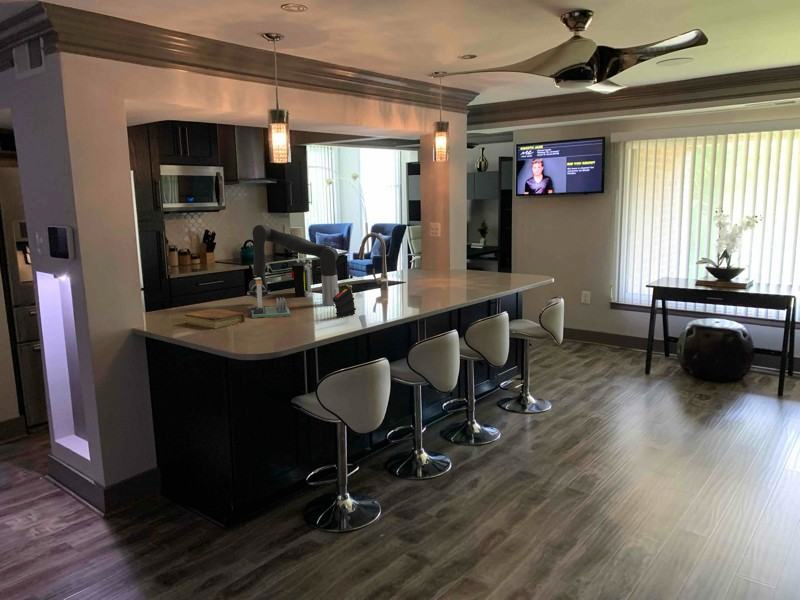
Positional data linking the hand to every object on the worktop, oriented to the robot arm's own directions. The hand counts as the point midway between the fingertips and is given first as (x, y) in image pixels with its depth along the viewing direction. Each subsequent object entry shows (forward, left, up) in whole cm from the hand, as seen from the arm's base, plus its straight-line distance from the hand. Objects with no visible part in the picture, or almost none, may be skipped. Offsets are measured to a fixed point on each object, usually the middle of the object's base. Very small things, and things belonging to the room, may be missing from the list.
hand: (258, 295), depth 325 cm
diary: (+14, +24, -11) cm, 30 cm away
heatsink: (-3, -4, -10) cm, 11 cm away
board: (-4, -4, -10) cm, 12 cm away
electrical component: (0, -66, -11) cm, 67 cm away
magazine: (-46, -3, -11) cm, 48 cm away
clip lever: (0, +1, -9) cm, 9 cm away
